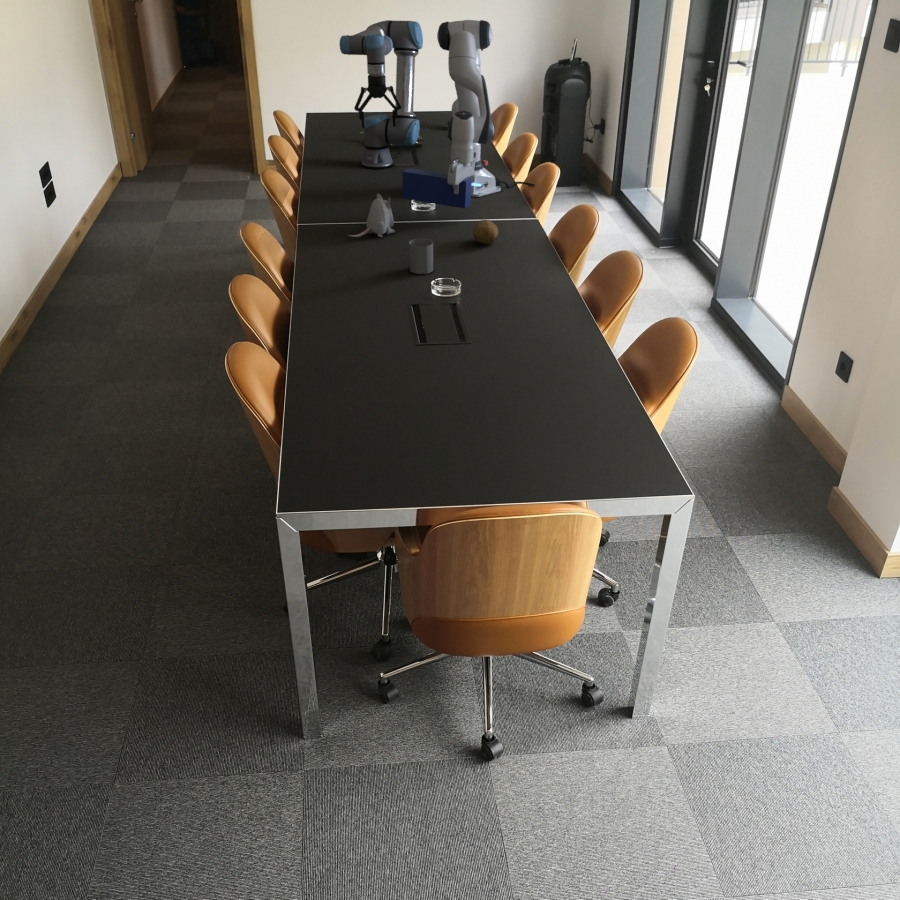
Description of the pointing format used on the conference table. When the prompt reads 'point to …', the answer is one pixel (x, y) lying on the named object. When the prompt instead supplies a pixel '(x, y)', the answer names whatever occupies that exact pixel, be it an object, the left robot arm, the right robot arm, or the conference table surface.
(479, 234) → the potato
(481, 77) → the right robot arm
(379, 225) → the toy
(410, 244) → the cup
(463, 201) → the box
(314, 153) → the conference table surface
